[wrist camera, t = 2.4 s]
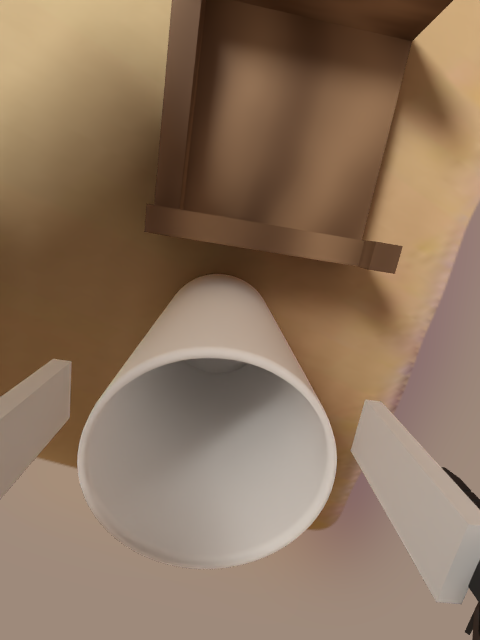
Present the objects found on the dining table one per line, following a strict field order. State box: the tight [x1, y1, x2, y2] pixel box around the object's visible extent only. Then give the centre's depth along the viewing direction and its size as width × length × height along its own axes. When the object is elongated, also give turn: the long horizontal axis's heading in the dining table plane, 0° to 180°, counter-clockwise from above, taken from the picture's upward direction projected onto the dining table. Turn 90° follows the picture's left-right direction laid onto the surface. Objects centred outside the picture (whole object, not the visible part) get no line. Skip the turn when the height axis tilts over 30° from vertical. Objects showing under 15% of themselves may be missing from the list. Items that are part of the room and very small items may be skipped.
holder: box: [144, 0, 453, 274], centre depth 19 cm, size 14×15×7 cm
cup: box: [77, 274, 337, 569], centre depth 18 cm, size 8×8×16 cm
